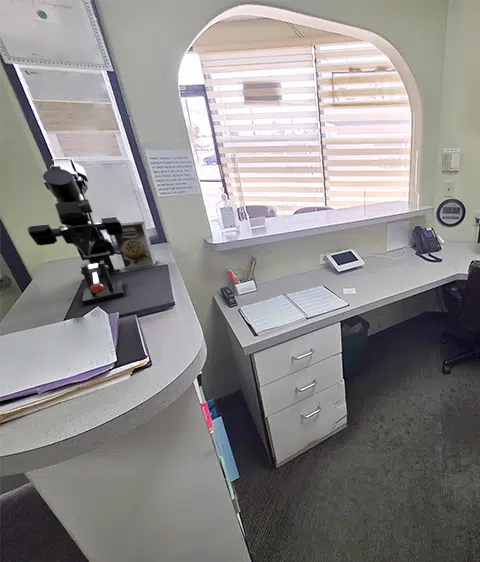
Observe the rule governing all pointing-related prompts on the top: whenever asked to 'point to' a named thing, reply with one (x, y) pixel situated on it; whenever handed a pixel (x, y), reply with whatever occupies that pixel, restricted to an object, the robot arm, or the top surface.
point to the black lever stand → (109, 289)
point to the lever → (95, 278)
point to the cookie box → (135, 246)
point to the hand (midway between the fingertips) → (86, 255)
